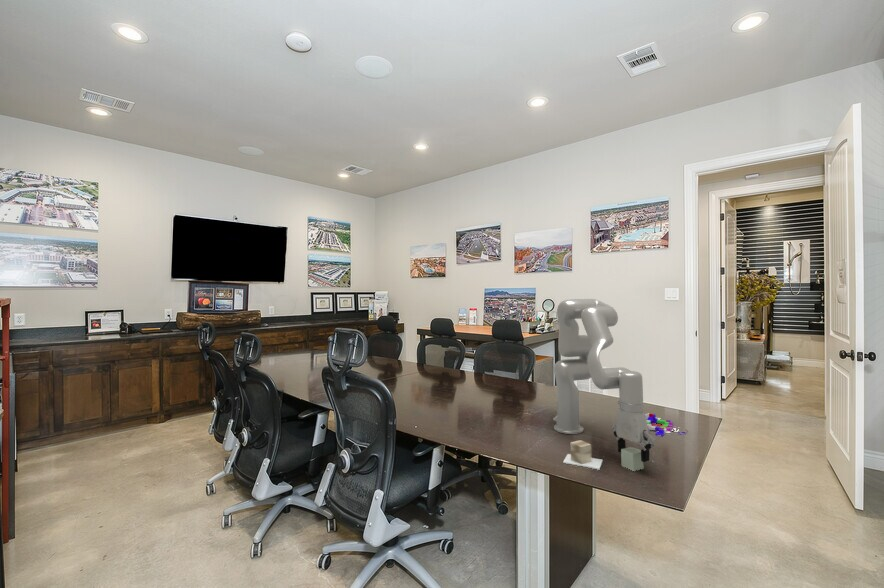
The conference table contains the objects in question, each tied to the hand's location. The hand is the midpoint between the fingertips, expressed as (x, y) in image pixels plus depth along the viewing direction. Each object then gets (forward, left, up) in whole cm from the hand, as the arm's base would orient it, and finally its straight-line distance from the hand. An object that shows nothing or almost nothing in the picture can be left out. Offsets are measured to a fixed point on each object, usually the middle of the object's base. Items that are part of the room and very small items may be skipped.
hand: (633, 456), depth 138 cm
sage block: (0, 0, -4) cm, 4 cm away
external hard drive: (-11, -12, -5) cm, 17 cm away
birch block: (-11, -13, -3) cm, 18 cm away
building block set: (-25, +46, -5) cm, 53 cm away
